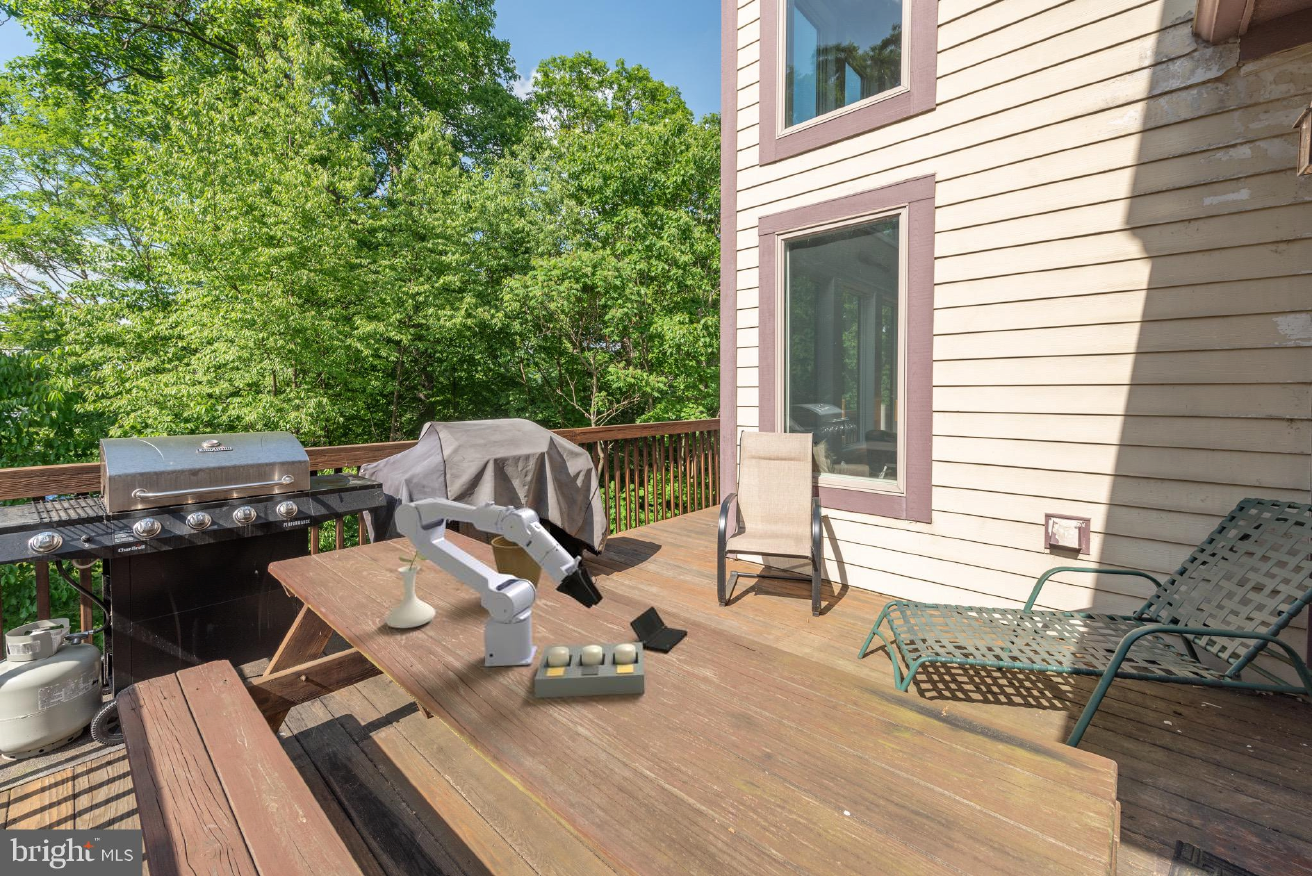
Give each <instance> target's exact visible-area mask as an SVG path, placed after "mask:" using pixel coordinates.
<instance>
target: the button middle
mask: <svg viewBox="0 0 1312 876" xmlns="http://www.w3.org/2000/svg"><path fill="white" fill-rule="evenodd" d="M581 652H582V666H594V665H602V648H601V647H600V646H597V645H590V646H586V647H584V648H582V650H581Z"/></svg>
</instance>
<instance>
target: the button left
mask: <svg viewBox="0 0 1312 876" xmlns="http://www.w3.org/2000/svg"><path fill="white" fill-rule="evenodd" d="M548 667H569V649H568V648H566V647H554V648H551V649H550V650H549V651H548Z"/></svg>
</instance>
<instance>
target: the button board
mask: <svg viewBox="0 0 1312 876" xmlns="http://www.w3.org/2000/svg"><path fill="white" fill-rule="evenodd" d="M621 644H631V645H634V646H635V655H636V664H617V665H615V647H616V646H618V645H621ZM590 645H597V646H600V647H601V648H602V665H594V666H582V652H581V650H582V648H584V647H586V646H590ZM554 647H566V648H568V649H569V667H548V651H549V650H550V649H551V648H554ZM644 663H645V662H644V649H643V644H642V642H641V641H638V642H618V643H617V642H615V643H593V644H592V643H591V644H589V643H588V644H572V645H571V644H570V645H569V644H568V645H564V644H563V645H546V646H545V648H544V650H543V654H542V656H541V659H540V662H539V665H538V668H537V670H536V671H537V672H536V674H535V677H534V698H535V699H543V698H544V699H545V698H565V697H585V696H589V697H590V696H606V695H605V694H613V695H628V694H630V695H631V694H645V690H646V689H645V669H644V668H645V666H644V665H645V664H644Z"/></svg>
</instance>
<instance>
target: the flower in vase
mask: <svg viewBox="0 0 1312 876" xmlns="http://www.w3.org/2000/svg"><path fill="white" fill-rule="evenodd" d="M409 542H410V544H412V543H411V541H410V540H409ZM412 545H413V544H412ZM416 557H417V558H418V559H420V560H421V561H427V560H428V559H426V558H425V557H423V556H422V555H421V554H420V553H419V552H418V551H417V550H416V552H415V555H414V556H413V560H412V559H410V558H404V557H401V556H399V557H398V559H399V560H400V562H402V563H403V562H404V563H410V565H406V566H403V567H400V568H397V572H398V574H399V575H400V576H401V577H402V580H403V581H402V582H403V586H404V597H403V599H402V601H401V602H400V603H398V605H396V606H395V607H394V608H393V609H392V610H391V611H390V612H389V613H388V614H387V616H386V617H385V623H386V624H387V625H388V627H391V628H397V629H408V628H409V629H410V628H416V627H418V626H419V627H420V626H422V625H425V624H427V623H428V622H430V621H432V620H433V619H434V618H435V616H436V610H435V608H433V607H432V606H431V605H430V604H428V603H426V602H424V601H423V600H420V599H419V598H418V597H417V595H416V592H415V591H416V589H415V585H416V584H415V583H416V576H417V573H418V571H419V570H420V566H419V565H413V564H414V562H415V560H416Z"/></svg>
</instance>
